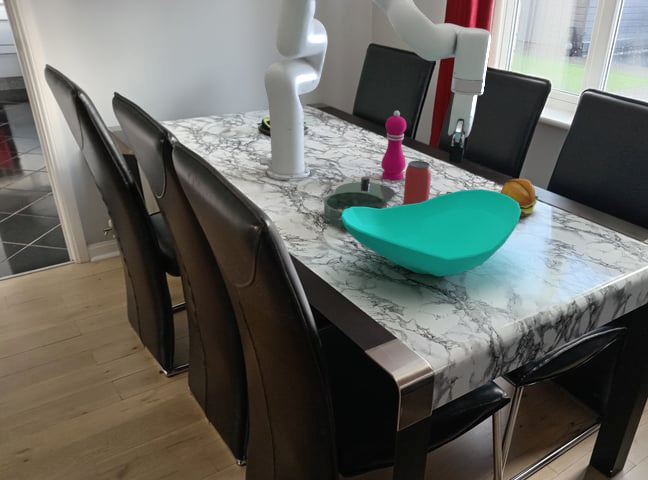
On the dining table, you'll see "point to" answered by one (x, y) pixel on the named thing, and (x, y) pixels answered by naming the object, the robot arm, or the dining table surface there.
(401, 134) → the pepper mill
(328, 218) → the pot
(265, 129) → the salad plate
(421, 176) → the beer can
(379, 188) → the lid
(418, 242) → the table top decor
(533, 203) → the cheeseburger
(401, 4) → the robot arm
